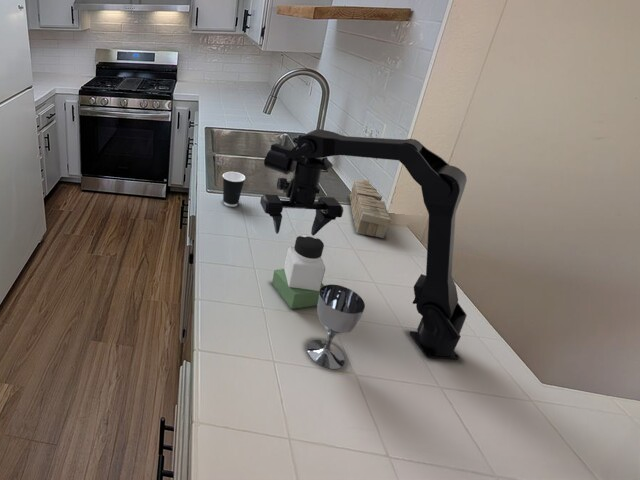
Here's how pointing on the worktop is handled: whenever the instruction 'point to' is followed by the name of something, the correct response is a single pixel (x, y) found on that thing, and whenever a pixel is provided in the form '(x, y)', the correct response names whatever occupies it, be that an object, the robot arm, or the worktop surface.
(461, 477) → the worktop surface
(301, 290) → the green block
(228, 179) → the dixie cup
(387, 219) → the block tower
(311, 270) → the medicine bottle
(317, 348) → the wine glass
